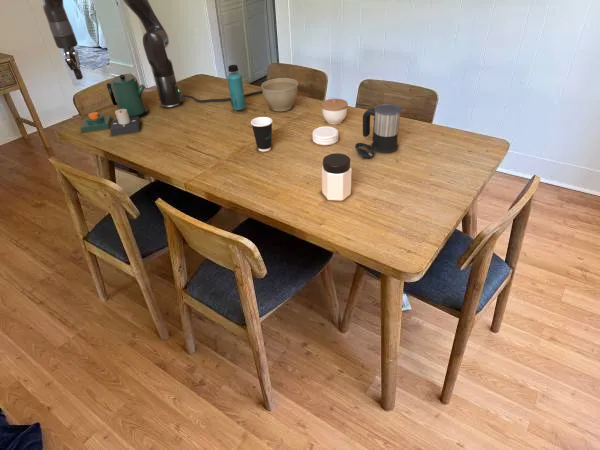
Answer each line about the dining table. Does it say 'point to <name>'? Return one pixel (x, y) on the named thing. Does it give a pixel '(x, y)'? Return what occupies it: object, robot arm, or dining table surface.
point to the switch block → (96, 123)
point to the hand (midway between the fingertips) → (80, 78)
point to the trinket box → (334, 110)
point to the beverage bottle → (236, 88)
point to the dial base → (125, 126)
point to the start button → (93, 115)
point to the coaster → (325, 135)
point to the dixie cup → (262, 132)
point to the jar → (336, 176)
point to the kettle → (128, 95)
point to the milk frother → (381, 129)
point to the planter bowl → (280, 93)
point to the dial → (122, 116)
